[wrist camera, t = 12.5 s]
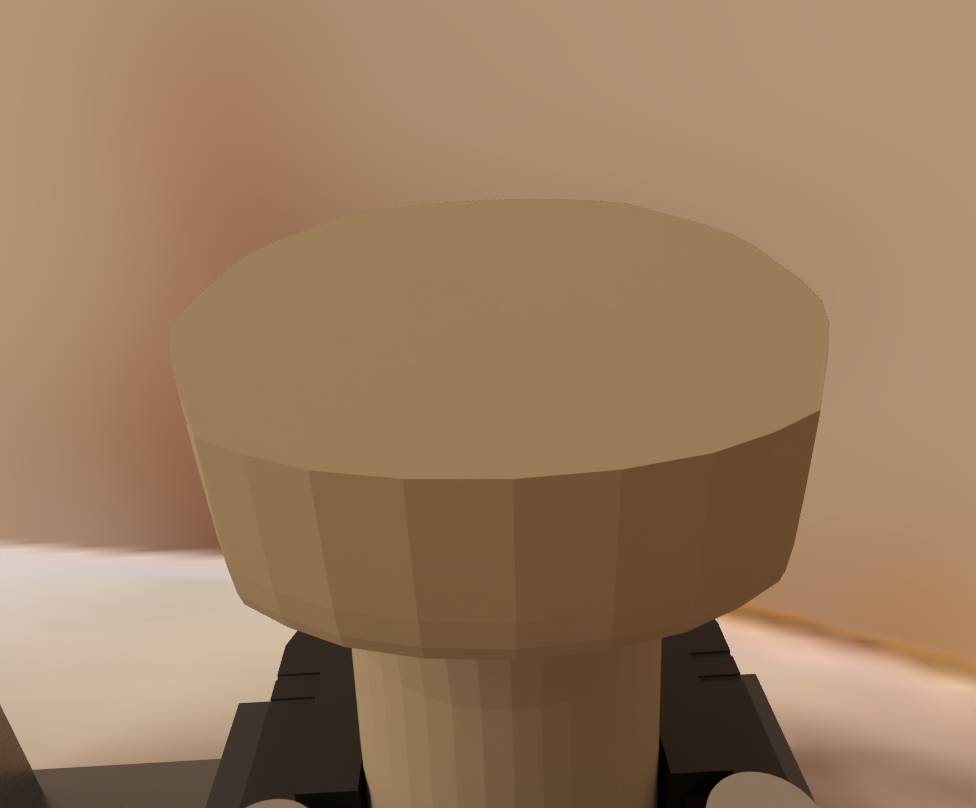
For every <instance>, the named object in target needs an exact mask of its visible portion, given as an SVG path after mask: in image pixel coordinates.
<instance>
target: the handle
mask: <svg viewBox="0 0 976 808" xmlns="http://www.w3.org/2000/svg"><path fill="white" fill-rule="evenodd" d="M828 340H829V320H828V317H827V314H826V311H825V308H824V305H823V302H822V300H821V299H820V298H819V297H818V296H817V295H816V294H815V293H814V292H813V291H812V290H811V289H810V288H809V287H808V286H807V285H806V284H805V283H804V282H803V281H802V280H801V279H800V278H798V277H797V276H795V275H794V274H793V273H791V272H790V271H789V270H787V269H786V268H784V267H783V266H782V265H780V264H779V263H777V262H776V261H774V260H773V259H772V258H771V257H769V256H768V255H767V254H765V253H764V252H762V251H761V250H760V249H758V248H757V247H755V246H753V245H751V244H750V243H748V242H746V241H744V240H742V239H741V238H739V237H737V236H735V235H733V234H730V233H727V232H724V231H721V230H719V229H716V228H713V227H710V226H707V225H704V224H701V223H697V222H694V221H690V220H686V219H683V218H679V217H675V216H672V215H668V214H665V213H661V212H657V211H653V210H649V209H645V208H642V207H638V206H634V205H630V204H627V203H617V202H604V201H591V200H570V199H505V200H478V201H462V202H461V201H460V202H445V203H433V204H422V205H411V206H403V207H395V208H388V209H381V210H374V211H369V212H363V213H356V214H351V215H347V216H344V217H341V218H339V219H336V220H333V221H330V222H328V223H325V224H322V225H319V226H317V227H314V228H311V229H309V230H306V231H303V232H301V233H298V234H295V235H293V236H290V237H288V238H285V239H282V240H280V241H277V242H275V243H272V244H270V245H268V246H266V247H264V248H262V249H259V250H257V251H255V252H253V253H251V254H249V255H247V256H245V257H244V258H242V259H241V260H240V261H238V262H237V263H235V264H234V265H233V266H231V267H230V268H228V269H227V270H226V271H225V272H224V273H223V274H221V275H220V276H219V277H218V278H217V279H216V280H215V281H214V282H213V283H212V284H211V285H210V286H209V287H208V288H207V289H206V290H205V291H203V292H202V293H201V294H200V295H199V296H198V297H197V298H196V299H195V300H194V301H193V302H192V303H191V304H190V305H189V306H188V307H187V308H186V309H185V311H184V312H183V313H182V315H181V316H180V317H179V319H178V320H177V321H176V322H175V324H174V325H173V326H172V328H171V336H170V344H169V355H170V359H171V363H172V368H173V372H174V376H175V380H176V384H177V388H178V392H179V396H180V400H181V404H182V408H183V412H184V415H185V420H186V424H187V428H188V432H189V435H190V439H191V444H192V448H193V451H194V455H195V459H196V462H197V466H198V470H199V473H200V477H201V480H202V484H203V488H204V491H205V495H206V498H207V502H208V506H209V509H210V512H211V516H212V520H213V523H214V526H215V530H216V533H217V537H218V540H219V543H220V546H221V549H222V552H223V555H224V558H225V561H226V564H227V567H228V570H229V573H230V575H231V578H232V580H233V583H234V585H235V588H236V591H237V593H238V595H239V596H240V598H241V599H242V601H243V602H244V604H245V605H247V606H249V607H251V608H253V609H255V610H257V611H258V612H260V613H262V614H264V615H266V616H268V617H270V618H272V619H274V620H276V621H277V622H279V623H281V624H283V625H285V626H287V627H289V628H292V629H295V630H298V631H301V632H304V633H306V634H309V635H312V636H315V637H318V638H321V639H323V640H326V641H329V642H332V643H335V644H338V645H340V646H343V647H348V648H352V657H353V668H354V678H355V689H356V699H357V710H358V720H359V730H360V741H361V750H362V759H363V769H364V779H365V790H366V801H367V808H658V760H659V722H660V683H661V644H662V638H664V637H668V636H673V635H677V634H681V633H685V632H688V631H690V630H692V629H694V628H696V627H699V626H701V625H703V624H705V623H707V622H709V621H712V620H714V619H716V618H718V617H720V616H722V615H724V614H727V613H729V612H731V611H733V610H735V609H737V608H739V607H741V606H742V605H744V604H746V603H747V602H749V601H750V600H752V599H753V598H755V597H756V596H758V595H759V594H761V593H762V592H764V591H765V590H766V589H768V588H770V587H771V586H773V585H774V584H775V583H777V582H778V581H779V580H780V579H781V577H782V575H783V573H784V572H785V570H786V567H787V564H788V561H789V558H790V555H791V552H792V549H793V546H794V542H795V537H796V532H797V527H798V523H799V518H800V513H801V509H802V503H803V499H804V494H805V489H806V484H807V479H808V473H809V468H810V463H811V458H812V452H813V447H814V442H815V436H816V431H817V425H818V421H819V415H820V410H821V402H822V395H823V388H824V380H825V372H826V365H827V358H828V342H829V341H828Z"/></svg>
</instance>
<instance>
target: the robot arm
mask: <svg viewBox="0 0 976 808" xmlns="http://www.w3.org/2000/svg"><path fill="white" fill-rule="evenodd" d="M239 808H367V801H366V790H365V779H364V769H363V759H362V750H361V741H360V730H359V720H358V710H357V699H356V689H355V678H354V668H353V657H352V648H348V647H343V646H340V645H338V644H335V643H332V642H329V641H326V640H323V639H321V638H318V637H315V636H312V635H309V634H306V633H304V632H301V631H297V632H296V633H295V635H294V636H293V637H292V638H291V640H290V641H289V642H288V643H287V645H286V647H285V650H284V654H283V657H282V661H281V664H280V668H279V671H278V680H277V681H276V682H275V686H274V689H273V693H272V696H271V705H269V707H268V710H267V714H266V717H265V721H264V724H263V728H262V731H261V735H260V738H259V742H258V745H257V749H256V753H255V756H254V760H253V763H252V767H251V770H250V774H249V777H248V781H247V784H246V788H245V791H244V795H243V798H242V801H241V804H240V807H239ZM658 808H819V807H818V806H817V804H816V803H815V802H814V801H813V800H812V799H811V798H810V797H809V796H808V795H807V794H805V793H804V792H803V791H802V790H801V789H799V788H798V787H796V786H795V785H793V784H792V783H791V782H790V781H789V779H788V778H787V776H786V774H785V773H784V771H783V769H782V767H781V764H780V762H779V760H778V758H777V755H776V753H775V751H774V749H773V746H772V744H771V742H770V740H769V737H768V735H767V733H766V731H765V728H764V726H763V724H762V722H761V719H760V717H759V715H758V713H757V710H756V708H755V706H754V703H753V701H752V699H751V697H750V694H749V692H748V690H747V688H746V685H745V683H744V681H743V680H741V677H740V672H739V670H738V667H737V665H736V663H735V661H734V658H733V656H731V655H730V649H729V647H728V645H727V642H726V640H725V638H724V636H723V633H722V631H721V629H720V627H719V624H718V622H717V621H716V620H715V619H714V620H712V621H709V622H707V623H705V624H703V625H701V626H699V627H696V628H694V629H692V630H690V631H688V632H685V633H681V634H677V635H673V636H668V637H664V638H662V644H661V683H660V722H659V760H658Z"/></svg>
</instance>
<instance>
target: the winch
mask: <svg viewBox="0 0 976 808" xmlns="http://www.w3.org/2000/svg"><path fill="white" fill-rule="evenodd" d="M740 677H741V680H743V681H744V683H745V685H746V688H747V690H748V692H749V694H750V697H751V699H752V701H753V703H754V706H755V708H756V710H757V713H758V715H759V717H760V719H761V722H762V724H763V726H764V728H765V731H766V733H767V735H768V737H769V740H770V742H771V744H772V746H773V749H774V751H775V753H776V755H777V758H778V760H779V762H780V764H781V767H782V769H783V771H784V773H785V774H786V776H787V778H788V779H789V781H790V782H791V783H792V784H793V785H795V786H796V787H798V788H799V789H801V790H802V791H803V792H804V793H805V794H807V795H808V796H809V797H810V798H811V799H812V800H813V801H814V799H813V797H812V795H811V792H810V790H809V788H808V786H807V784H806V782H805V779H804V777H803V775H802V773H801V771H800V769H799V766H798V764H797V762H796V760H795V758H794V756H793V753H792V751H791V749H790V747H789V745H788V743H787V741H786V738H785V736H784V734H783V732H782V730H781V728H780V726H779V724H778V722H777V719H776V717H775V715H774V713H773V711H772V709H771V706H770V704H769V702H768V700H767V698H766V696H765V693H764V691H763V689H762V687H761V685H760V683H759V680H758V678H757V676H756V674H746V675H740ZM269 705H271V702H254V703H239V705H238V709H237V712H236V715H235V718H234V721H233V724H232V727H231V730H230V733H229V736H228V739H227V742H226V745H225V749H224V752H223V755H222V758H221V759H214V760H197V761H179V762H162V763H145V764H128V765H111V766H93V767H76V768H59V769H42V770H32V768H31V766H30V764H29V762H28V760H27V758H26V756H25V754H24V752H23V750H22V748H21V746H20V744H19V742H18V740H17V738H16V736H15V734H14V732H13V730H12V728H11V726H10V724H9V722H8V720H7V718H6V716H5V714H4V712H3V710H2V708H1V706H0V808H239V807H240V804H241V801H242V798H243V795H244V791H245V788H246V784H247V781H248V777H249V774H250V770H251V767H252V763H253V760H254V756H255V753H256V749H257V745H258V742H259V738H260V735H261V731H262V728H263V724H264V721H265V717H266V714H267V710H268V707H269ZM814 802H815V801H814Z"/></svg>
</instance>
